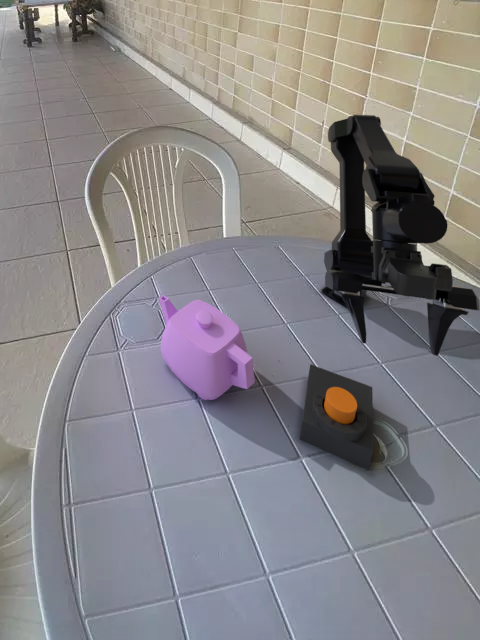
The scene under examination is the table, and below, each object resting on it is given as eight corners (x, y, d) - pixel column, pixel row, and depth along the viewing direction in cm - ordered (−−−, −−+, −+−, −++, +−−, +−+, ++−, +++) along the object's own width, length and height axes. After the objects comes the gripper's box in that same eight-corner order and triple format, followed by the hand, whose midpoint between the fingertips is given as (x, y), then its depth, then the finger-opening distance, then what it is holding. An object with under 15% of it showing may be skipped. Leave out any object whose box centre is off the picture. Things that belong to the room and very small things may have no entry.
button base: (307, 381, 74) (311, 356, 71) (367, 405, 69) (374, 378, 67) (299, 442, 65) (303, 415, 62) (368, 474, 60) (375, 446, 58)
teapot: (270, 387, 73) (277, 332, 68) (225, 435, 66) (229, 377, 62) (182, 319, 88) (183, 269, 84) (138, 352, 81) (136, 300, 77)
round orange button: (325, 394, 66) (327, 382, 65) (354, 405, 64) (357, 394, 63) (322, 416, 62) (325, 404, 62) (354, 429, 60) (357, 417, 60)
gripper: (342, 235, 62) (343, 350, 58) (498, 252, 56) (510, 379, 53) (324, 235, 72) (324, 332, 69) (454, 249, 67) (462, 355, 64)
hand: (398, 348), depth 63 cm, fingers open, 9 cm apart
